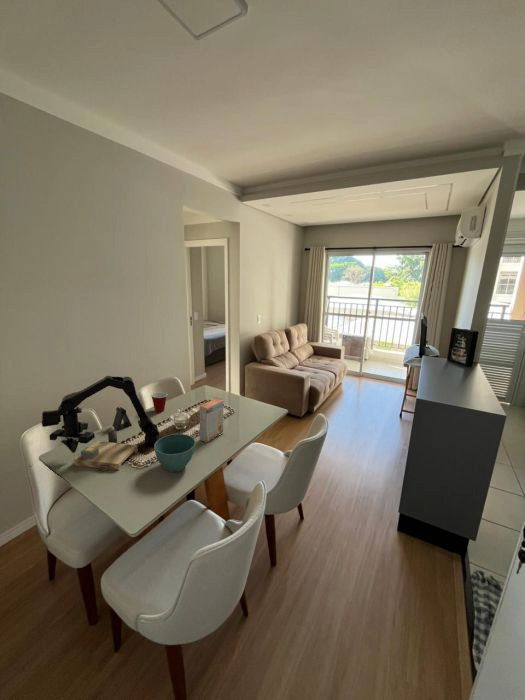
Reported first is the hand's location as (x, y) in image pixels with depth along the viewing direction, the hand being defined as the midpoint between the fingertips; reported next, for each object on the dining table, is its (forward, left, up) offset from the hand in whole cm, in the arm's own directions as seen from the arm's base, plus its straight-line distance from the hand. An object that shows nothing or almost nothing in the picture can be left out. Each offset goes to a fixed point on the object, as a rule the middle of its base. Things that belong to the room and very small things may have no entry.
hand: (74, 452), depth 135 cm
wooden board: (-14, -4, -4) cm, 15 cm away
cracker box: (-58, -33, -4) cm, 67 cm away
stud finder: (-8, 0, -1) cm, 8 cm away
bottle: (-9, -16, -4) cm, 19 cm away
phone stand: (-3, -34, -4) cm, 35 cm away
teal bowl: (-49, -3, -4) cm, 49 cm away
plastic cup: (-14, -60, -4) cm, 62 cm away
